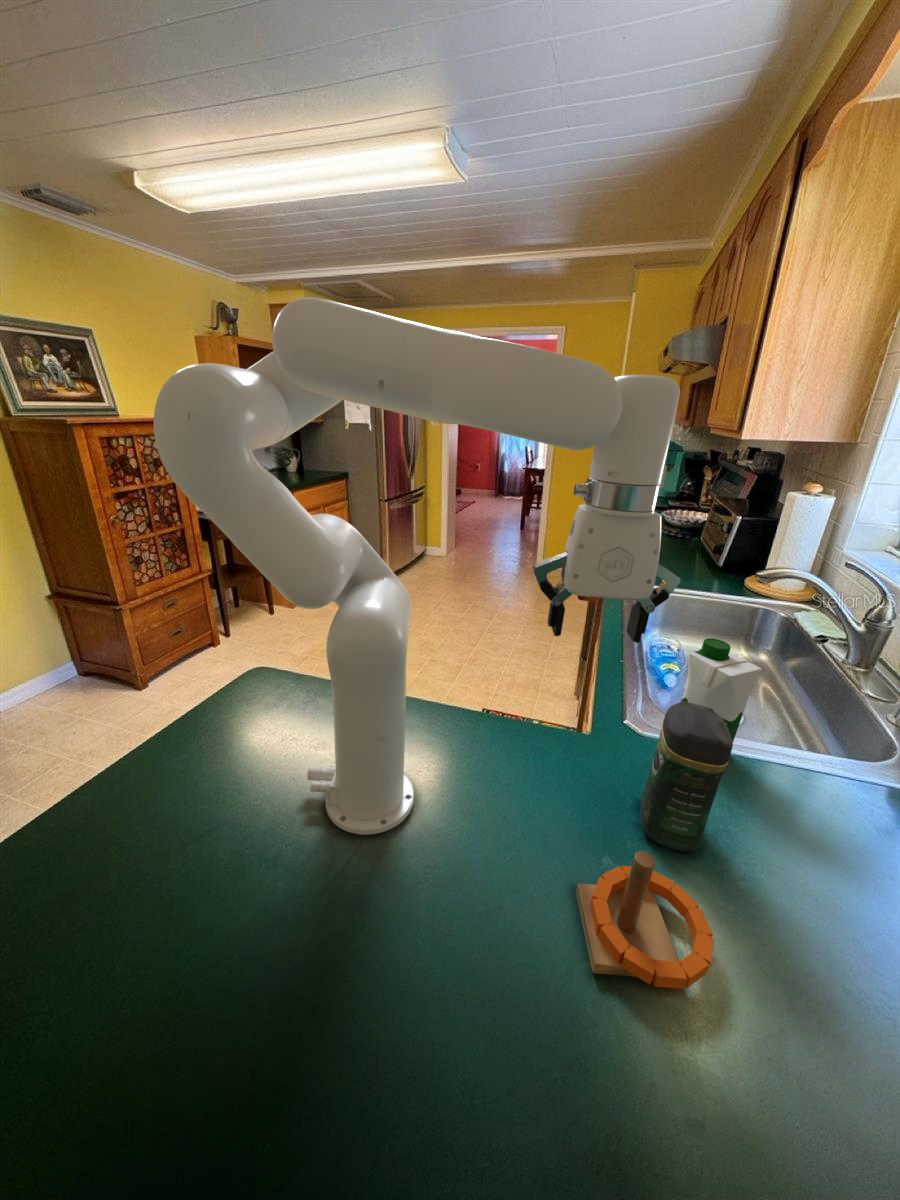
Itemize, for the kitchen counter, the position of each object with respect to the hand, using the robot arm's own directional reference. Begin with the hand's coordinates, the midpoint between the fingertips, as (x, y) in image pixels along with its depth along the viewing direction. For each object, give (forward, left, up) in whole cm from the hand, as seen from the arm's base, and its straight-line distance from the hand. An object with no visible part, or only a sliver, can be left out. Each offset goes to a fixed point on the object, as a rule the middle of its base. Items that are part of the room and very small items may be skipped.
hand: (593, 634), depth 59 cm
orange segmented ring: (+6, -18, -27) cm, 33 cm away
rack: (+4, -18, -28) cm, 34 cm away
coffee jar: (+15, -2, -28) cm, 32 cm away
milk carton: (+27, +16, -28) cm, 42 cm away
